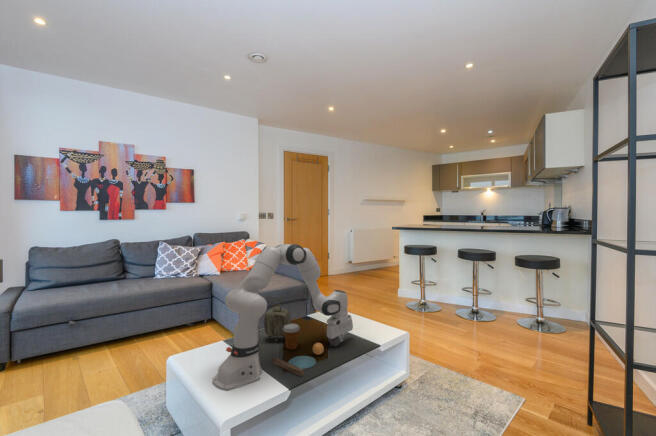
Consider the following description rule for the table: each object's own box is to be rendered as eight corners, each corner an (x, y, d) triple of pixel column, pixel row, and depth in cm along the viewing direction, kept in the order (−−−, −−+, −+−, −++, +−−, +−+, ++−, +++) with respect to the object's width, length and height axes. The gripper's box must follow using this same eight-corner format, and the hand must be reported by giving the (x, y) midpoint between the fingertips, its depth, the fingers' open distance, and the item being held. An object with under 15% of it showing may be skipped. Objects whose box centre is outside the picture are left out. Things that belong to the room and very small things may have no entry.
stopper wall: (300, 376, 145) (300, 371, 145) (273, 363, 158) (273, 358, 158) (303, 375, 146) (303, 369, 146) (276, 362, 160) (276, 357, 160)
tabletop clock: (290, 337, 192) (290, 297, 192) (287, 343, 183) (286, 301, 183) (267, 337, 193) (267, 296, 193) (263, 343, 184) (262, 300, 184)
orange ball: (318, 357, 164) (318, 346, 164) (310, 354, 168) (310, 343, 168) (326, 354, 169) (325, 342, 169) (318, 350, 173) (317, 340, 173)
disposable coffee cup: (279, 348, 176) (279, 327, 176) (289, 342, 184) (289, 322, 184) (293, 352, 172) (293, 330, 172) (303, 345, 180) (302, 324, 180)
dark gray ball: (335, 349, 175) (335, 338, 174) (327, 346, 179) (327, 336, 178) (342, 345, 179) (342, 335, 179) (334, 342, 183) (334, 332, 183)
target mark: (301, 371, 149) (301, 371, 149) (282, 363, 159) (282, 362, 159) (321, 361, 160) (321, 361, 160) (302, 353, 169) (302, 353, 169)
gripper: (346, 312, 192) (347, 335, 192) (324, 321, 177) (324, 345, 177) (355, 314, 188) (355, 337, 188) (333, 323, 173) (333, 348, 173)
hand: (340, 341), depth 183 cm, fingers closed
